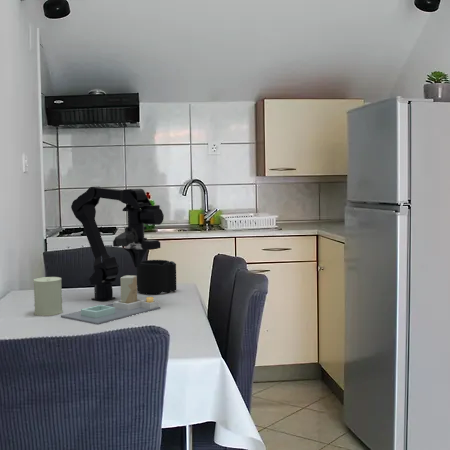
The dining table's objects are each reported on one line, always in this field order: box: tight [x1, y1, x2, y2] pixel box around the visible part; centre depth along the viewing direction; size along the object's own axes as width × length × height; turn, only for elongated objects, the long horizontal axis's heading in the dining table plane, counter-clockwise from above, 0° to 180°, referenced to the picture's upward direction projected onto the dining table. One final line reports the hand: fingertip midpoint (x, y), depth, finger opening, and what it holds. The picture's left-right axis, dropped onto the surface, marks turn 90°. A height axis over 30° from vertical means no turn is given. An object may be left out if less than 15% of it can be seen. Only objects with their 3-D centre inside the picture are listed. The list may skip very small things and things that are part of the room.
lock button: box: [145, 296, 155, 303], centre depth 209 cm, size 2×2×3 cm
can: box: [32, 276, 64, 317], centre depth 205 cm, size 9×9×12 cm
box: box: [120, 274, 138, 304], centre depth 210 cm, size 5×4×11 cm
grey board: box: [60, 298, 161, 326], centre depth 204 cm, size 18×28×3 cm, turn 143°
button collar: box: [141, 299, 160, 309], centre depth 209 cm, size 4×4×2 cm
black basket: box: [136, 259, 177, 295], centre depth 241 cm, size 14×15×12 cm
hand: (136, 267), depth 218 cm, fingers closed
